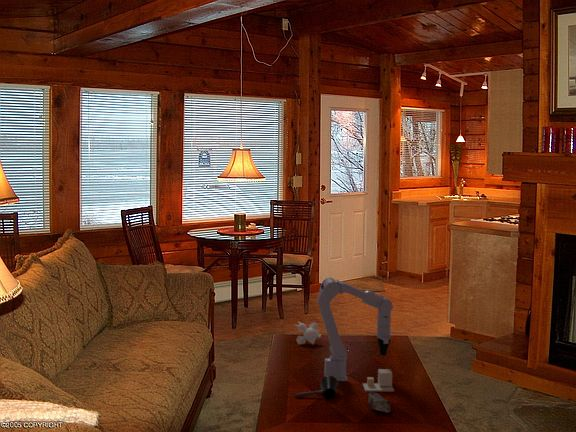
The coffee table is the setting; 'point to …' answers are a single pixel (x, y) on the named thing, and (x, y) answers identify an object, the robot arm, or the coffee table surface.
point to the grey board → (376, 386)
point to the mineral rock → (378, 402)
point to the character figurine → (308, 333)
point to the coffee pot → (324, 388)
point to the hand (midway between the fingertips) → (382, 355)
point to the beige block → (384, 377)
